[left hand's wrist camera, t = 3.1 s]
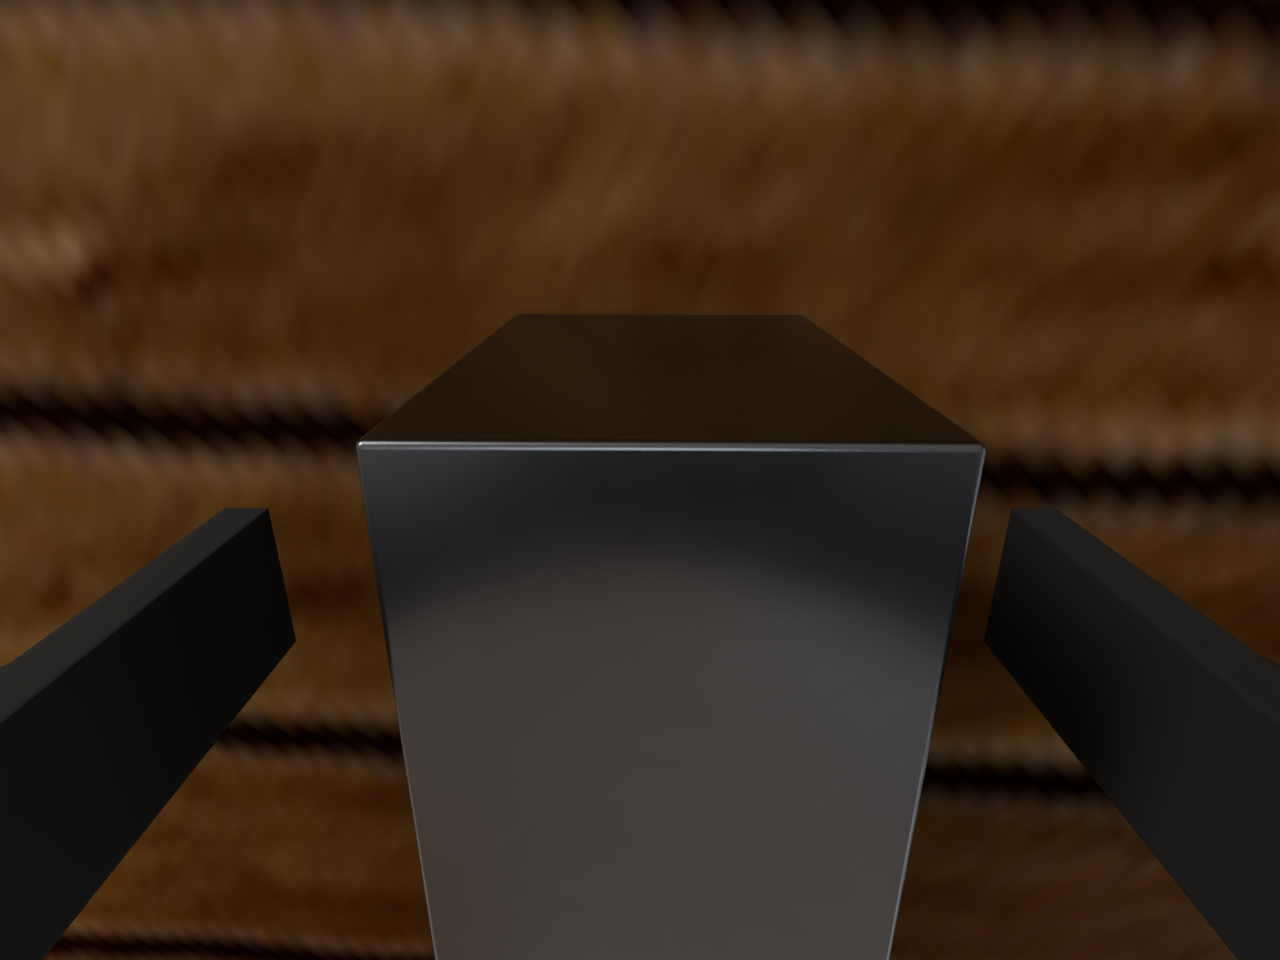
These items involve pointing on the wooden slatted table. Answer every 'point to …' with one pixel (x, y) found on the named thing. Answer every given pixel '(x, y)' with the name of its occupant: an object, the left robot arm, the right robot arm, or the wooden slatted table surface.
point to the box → (666, 635)
